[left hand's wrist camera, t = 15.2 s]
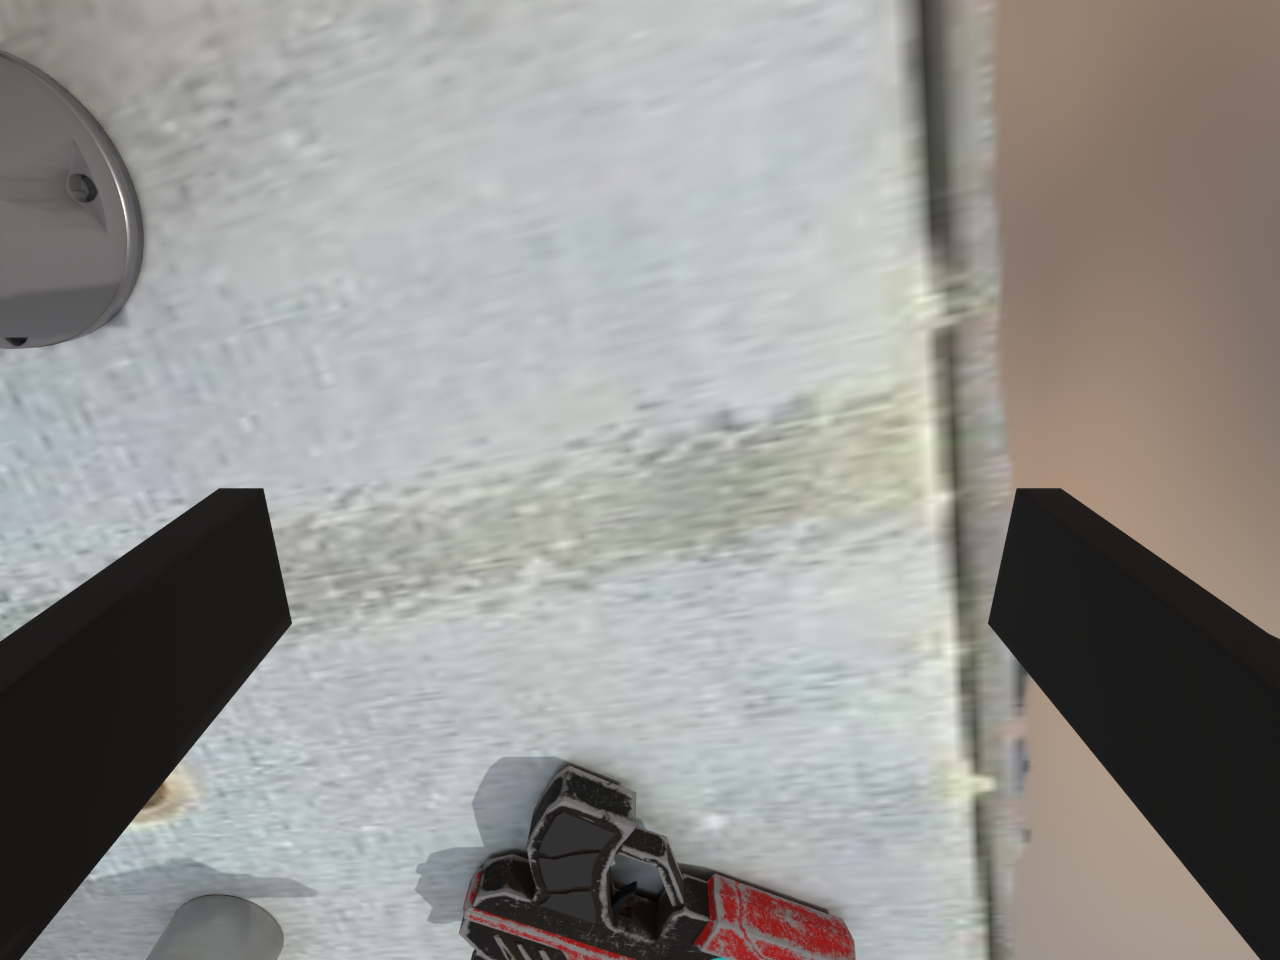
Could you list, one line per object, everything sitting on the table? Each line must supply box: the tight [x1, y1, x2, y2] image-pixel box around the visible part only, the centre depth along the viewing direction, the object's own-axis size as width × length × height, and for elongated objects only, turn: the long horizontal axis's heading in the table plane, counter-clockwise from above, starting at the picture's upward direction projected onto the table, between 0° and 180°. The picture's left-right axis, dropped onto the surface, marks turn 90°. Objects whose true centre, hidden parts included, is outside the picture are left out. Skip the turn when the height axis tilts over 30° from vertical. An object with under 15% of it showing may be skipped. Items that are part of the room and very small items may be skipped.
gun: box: [459, 766, 856, 960], centre depth 56 cm, size 4×31×19 cm
